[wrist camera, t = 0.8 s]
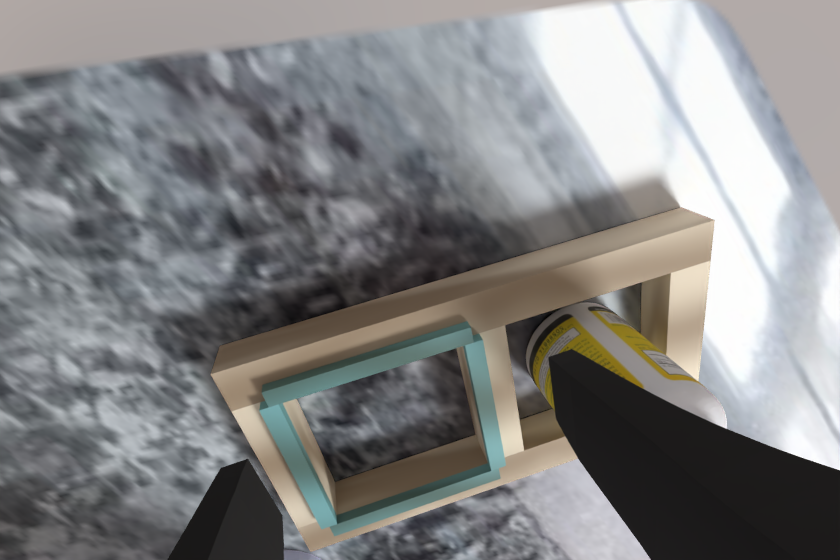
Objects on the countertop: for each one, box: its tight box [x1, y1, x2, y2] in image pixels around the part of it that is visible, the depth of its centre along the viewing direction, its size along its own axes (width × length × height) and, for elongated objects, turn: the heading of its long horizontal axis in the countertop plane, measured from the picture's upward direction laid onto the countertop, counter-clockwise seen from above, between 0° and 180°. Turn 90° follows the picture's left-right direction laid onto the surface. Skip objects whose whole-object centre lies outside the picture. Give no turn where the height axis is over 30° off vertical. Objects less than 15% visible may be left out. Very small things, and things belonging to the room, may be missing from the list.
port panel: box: [211, 207, 715, 552], centre depth 22 cm, size 12×22×2 cm, turn 103°
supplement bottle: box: [526, 302, 727, 429], centre depth 19 cm, size 5×5×10 cm
